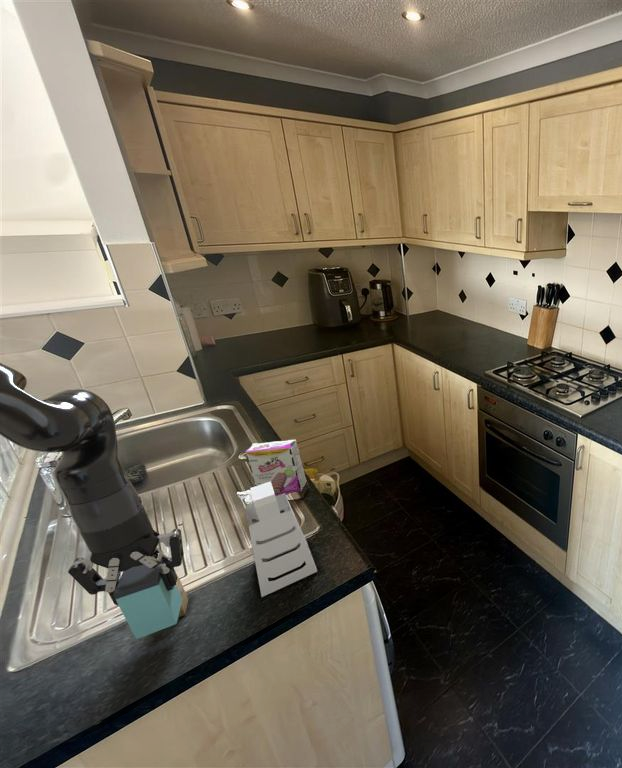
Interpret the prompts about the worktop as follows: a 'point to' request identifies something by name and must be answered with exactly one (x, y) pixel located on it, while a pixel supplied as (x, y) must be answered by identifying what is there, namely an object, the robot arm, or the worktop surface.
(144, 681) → the worktop surface
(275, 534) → the grater
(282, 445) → the candy bar box
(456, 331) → the worktop surface
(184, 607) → the prop block
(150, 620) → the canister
